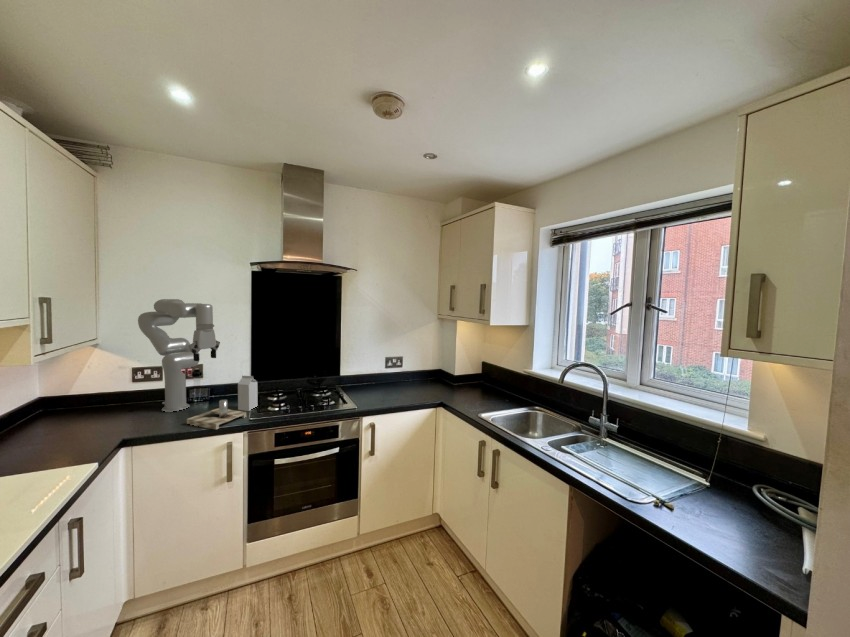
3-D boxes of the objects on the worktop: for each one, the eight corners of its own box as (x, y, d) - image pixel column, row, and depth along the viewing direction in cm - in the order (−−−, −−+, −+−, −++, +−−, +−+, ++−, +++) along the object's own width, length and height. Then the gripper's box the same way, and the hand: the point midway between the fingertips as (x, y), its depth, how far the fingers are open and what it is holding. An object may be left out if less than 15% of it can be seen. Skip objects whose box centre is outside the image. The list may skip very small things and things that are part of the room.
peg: (213, 423, 170) (213, 401, 170) (224, 419, 176) (223, 398, 175) (223, 424, 168) (222, 402, 168) (233, 420, 174) (232, 399, 174)
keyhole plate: (186, 424, 168) (186, 418, 168) (218, 413, 185) (218, 407, 185) (216, 429, 162) (216, 423, 162) (246, 417, 179) (246, 411, 179)
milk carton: (249, 411, 188) (248, 377, 187) (238, 410, 190) (237, 377, 189) (257, 407, 195) (257, 375, 194) (247, 406, 197) (246, 374, 196)
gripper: (213, 325, 188) (214, 356, 189) (183, 328, 171) (184, 361, 172) (224, 326, 185) (224, 357, 186) (194, 328, 169) (195, 362, 170)
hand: (205, 359), depth 179 cm, fingers open, 9 cm apart
